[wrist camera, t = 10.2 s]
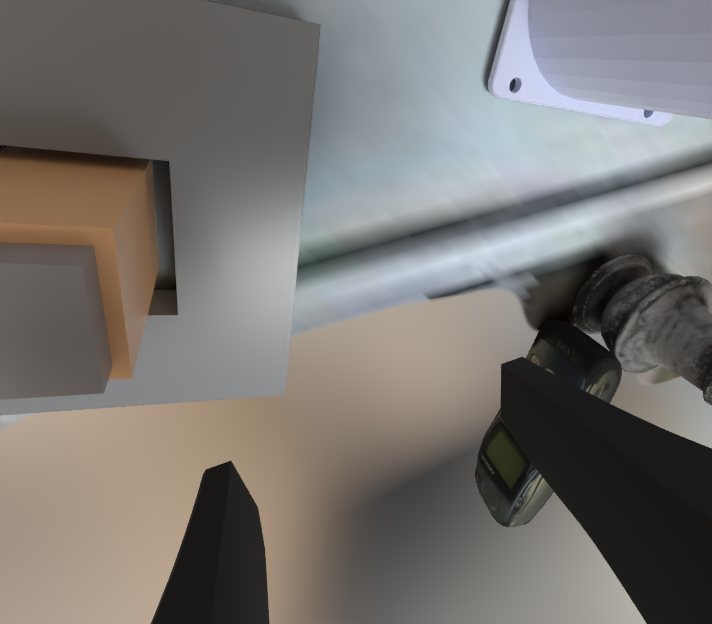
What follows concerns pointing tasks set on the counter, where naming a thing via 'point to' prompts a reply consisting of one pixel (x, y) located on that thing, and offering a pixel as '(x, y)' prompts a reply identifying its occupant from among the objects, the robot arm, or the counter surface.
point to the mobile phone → (499, 449)
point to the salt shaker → (650, 318)
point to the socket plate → (181, 170)
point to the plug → (73, 269)
